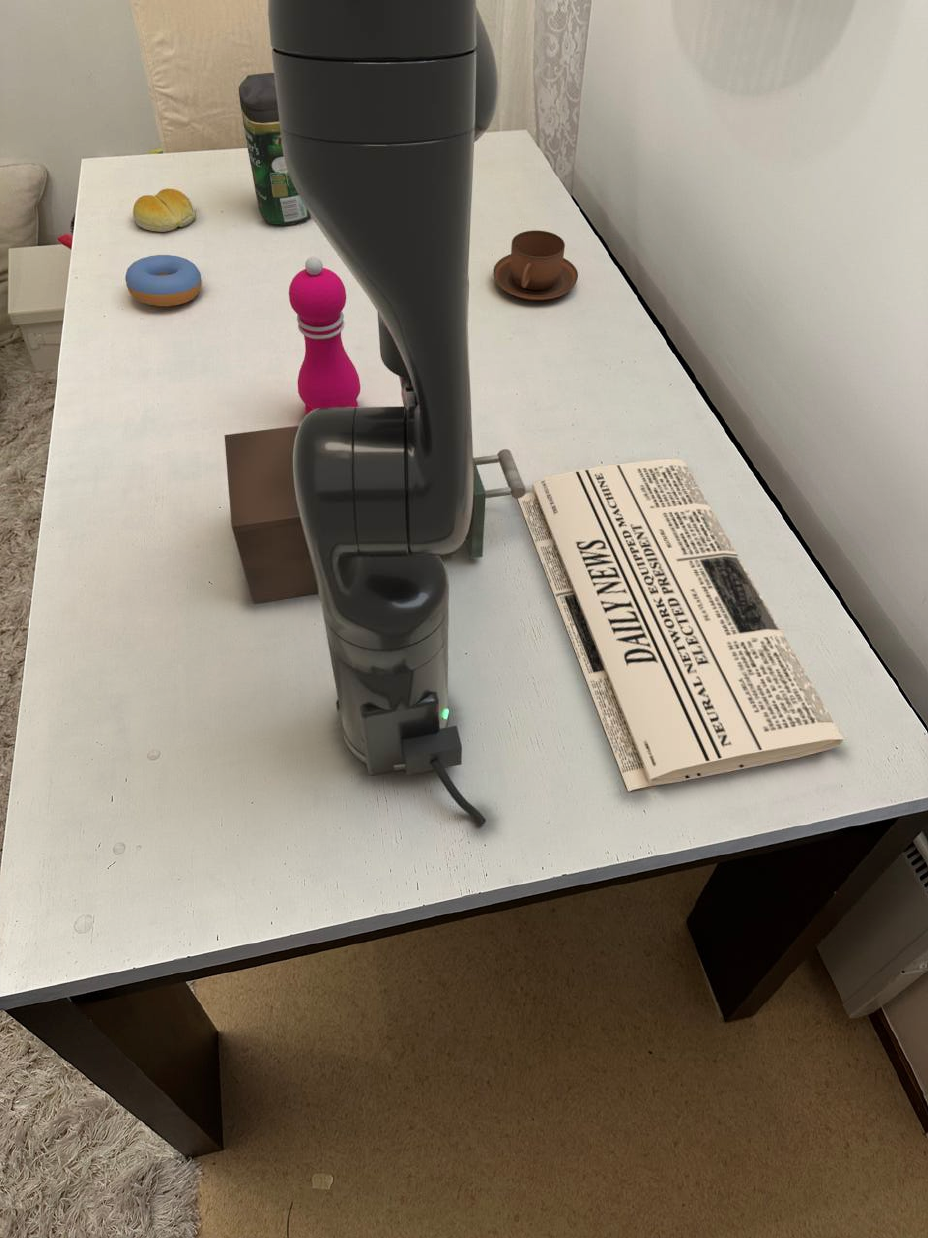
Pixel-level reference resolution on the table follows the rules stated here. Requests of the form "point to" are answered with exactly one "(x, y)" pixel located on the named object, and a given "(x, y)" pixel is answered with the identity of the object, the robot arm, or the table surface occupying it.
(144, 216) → the bread roll
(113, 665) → the table surface
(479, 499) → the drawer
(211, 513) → the table surface
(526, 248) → the cup and saucer
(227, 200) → the table surface
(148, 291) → the doughnut
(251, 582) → the brown box
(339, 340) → the pepper mill
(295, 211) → the coffee jar
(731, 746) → the newspaper
